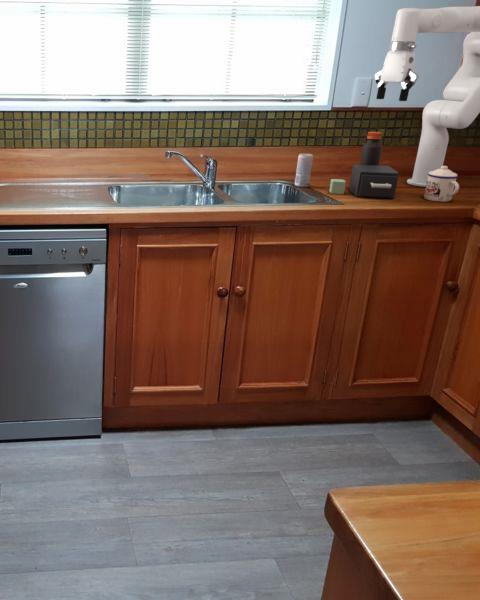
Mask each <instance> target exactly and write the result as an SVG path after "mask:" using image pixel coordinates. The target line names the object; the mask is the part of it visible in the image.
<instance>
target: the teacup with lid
mask: <svg viewBox="0 0 480 600" xmlns="http://www.w3.org/2000/svg"><path fill="white" fill-rule="evenodd" d="M457 178H458V173H456V172H453V171H452V170H451V169H449V167H448V166H447V165H443V166H441V169H437V170H435V171H430V172H429V173H428V180H427V184H426V187H425V189H424V193H423V199H425V200H428V201H432V202H439V203H440V202H441V203H448V202H451V201H452V198H453V196H455V195H457V194H458V193H459V189H460V184H459V183H458V182H457Z"/></svg>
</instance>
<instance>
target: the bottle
mask: <svg viewBox="0 0 480 600" xmlns="http://www.w3.org/2000/svg"><path fill="white" fill-rule="evenodd" d="M382 137H383V132H380V131H368V132H367V135H366V141H367V142H365V143H364V144H363V145H362V150H361V153H360V161H359V165H377V166H380V162H381V156H382V151H383V145H382V144H381V140H382Z"/></svg>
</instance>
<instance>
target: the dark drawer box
mask: <svg viewBox="0 0 480 600" xmlns="http://www.w3.org/2000/svg"><path fill="white" fill-rule="evenodd" d="M362 174H375V175H393V176H398V178H397V183H396V186H397V184H398V180H399V175H400V173H399V172H398V171H397V170H395V169H394V168H393V167H391V166H390V165H379V166H377V165H360V164H352V168H351V174H350V179H349V185H348V189H349V191H350V192H351V193H352V194H353V195H354V196H355V197H356V198H366V199H367V198H369V199H387V200H388V199H391V200H394V199H395V196H396V192H395V193H394V197H378V196H359V190H360V185H361V179H362ZM395 191H397V187H396V188H395Z"/></svg>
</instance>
